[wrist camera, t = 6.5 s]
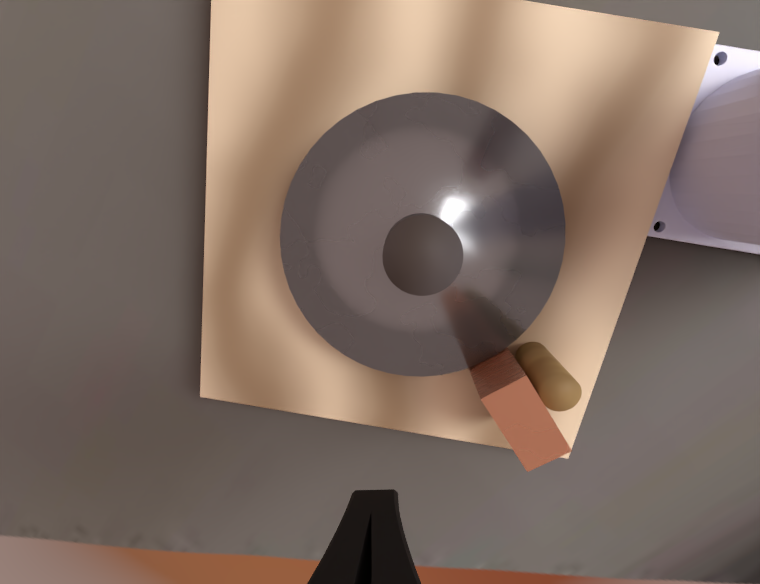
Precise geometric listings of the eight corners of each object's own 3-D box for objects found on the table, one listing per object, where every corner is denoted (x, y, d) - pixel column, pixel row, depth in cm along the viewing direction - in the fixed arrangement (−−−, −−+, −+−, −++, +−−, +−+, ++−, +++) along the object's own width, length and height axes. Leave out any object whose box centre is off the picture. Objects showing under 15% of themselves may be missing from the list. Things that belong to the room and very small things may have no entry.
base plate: (690, 46, 16) (817, -16, 11) (556, 440, 21) (602, 513, 16) (229, -29, 16) (156, -123, 11) (213, 382, 21) (159, 439, 17)
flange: (233, 204, 17) (191, 208, 13) (470, 32, 14) (492, -16, 11) (419, 463, 20) (424, 519, 16) (637, 355, 18) (694, 394, 14)
